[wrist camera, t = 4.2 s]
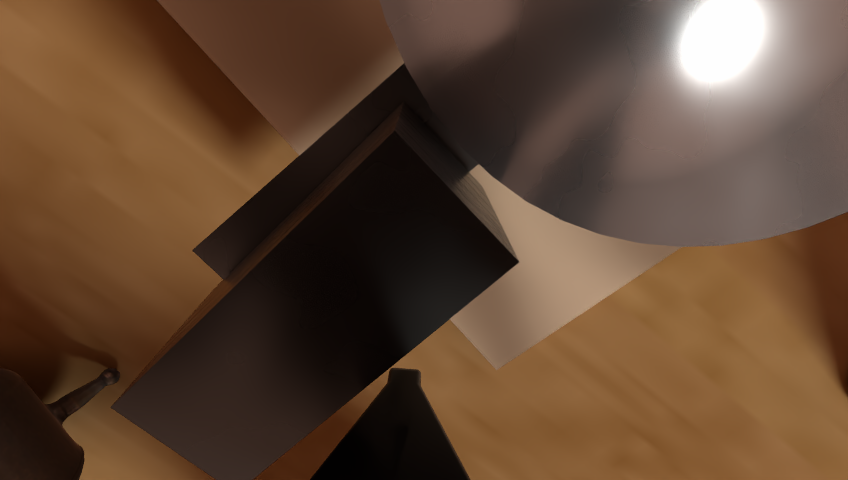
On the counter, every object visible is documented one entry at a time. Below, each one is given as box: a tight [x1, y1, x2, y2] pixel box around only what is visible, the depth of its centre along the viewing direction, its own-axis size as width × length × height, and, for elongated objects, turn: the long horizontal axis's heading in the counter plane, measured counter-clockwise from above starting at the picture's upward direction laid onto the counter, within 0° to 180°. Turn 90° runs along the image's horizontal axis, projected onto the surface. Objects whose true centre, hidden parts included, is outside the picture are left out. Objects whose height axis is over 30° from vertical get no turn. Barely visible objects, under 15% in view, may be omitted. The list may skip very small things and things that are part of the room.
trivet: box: [157, 0, 681, 370], centre depth 14 cm, size 17×18×1 cm
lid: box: [111, 0, 848, 480], centre depth 7 cm, size 19×12×4 cm, turn 133°
